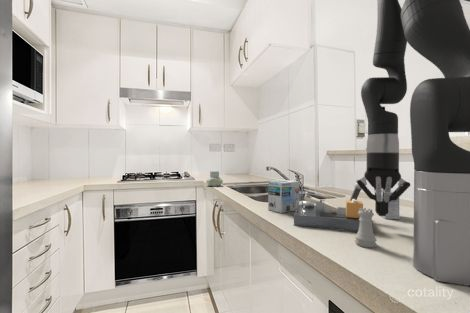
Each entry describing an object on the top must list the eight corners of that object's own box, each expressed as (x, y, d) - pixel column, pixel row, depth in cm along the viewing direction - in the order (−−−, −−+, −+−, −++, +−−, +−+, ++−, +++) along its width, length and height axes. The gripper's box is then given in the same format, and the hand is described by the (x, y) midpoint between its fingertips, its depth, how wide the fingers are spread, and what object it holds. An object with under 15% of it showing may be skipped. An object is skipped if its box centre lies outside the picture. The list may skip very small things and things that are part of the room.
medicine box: (399, 220, 78) (400, 192, 78) (384, 219, 79) (384, 192, 79) (389, 214, 86) (389, 189, 86) (375, 213, 87) (375, 189, 87)
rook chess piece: (365, 249, 53) (365, 211, 53) (350, 242, 57) (350, 207, 57) (381, 247, 54) (382, 210, 54) (365, 240, 58) (366, 206, 58)
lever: (354, 211, 77) (365, 184, 76) (345, 207, 78) (356, 181, 77) (353, 209, 80) (364, 183, 78) (344, 206, 80) (355, 180, 79)
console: (372, 233, 64) (372, 210, 64) (293, 225, 71) (294, 204, 71) (363, 218, 80) (363, 199, 80) (299, 212, 86) (299, 195, 87)
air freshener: (222, 185, 168) (222, 170, 168) (222, 186, 160) (222, 171, 160) (206, 185, 168) (206, 170, 168) (206, 186, 159) (206, 171, 159)
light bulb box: (281, 213, 85) (281, 182, 85) (267, 210, 91) (267, 181, 91) (300, 209, 92) (300, 180, 92) (285, 206, 97) (286, 179, 97)
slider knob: (362, 218, 66) (363, 201, 66) (346, 217, 68) (346, 200, 68) (360, 215, 70) (361, 199, 70) (345, 214, 71) (345, 198, 71)
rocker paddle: (336, 212, 73) (338, 207, 73) (303, 199, 76) (304, 195, 76) (335, 209, 77) (337, 205, 77) (304, 197, 80) (305, 193, 80)
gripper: (356, 151, 65) (356, 216, 65) (416, 151, 61) (415, 221, 61) (353, 151, 72) (353, 210, 72) (406, 151, 68) (406, 214, 68)
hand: (381, 215), depth 66 cm, fingers closed
